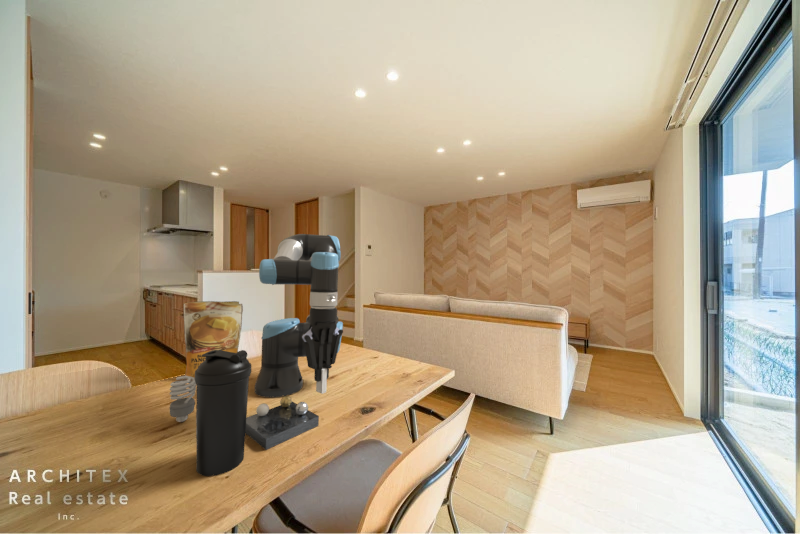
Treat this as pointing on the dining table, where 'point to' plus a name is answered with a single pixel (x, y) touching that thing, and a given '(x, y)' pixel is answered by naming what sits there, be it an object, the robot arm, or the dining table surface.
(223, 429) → the water bottle
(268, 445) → the plate
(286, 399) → the brass ball
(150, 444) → the dining table surface
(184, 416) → the light bulb
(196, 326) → the pancake mix bag
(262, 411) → the white plastic ball
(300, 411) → the steel ball
